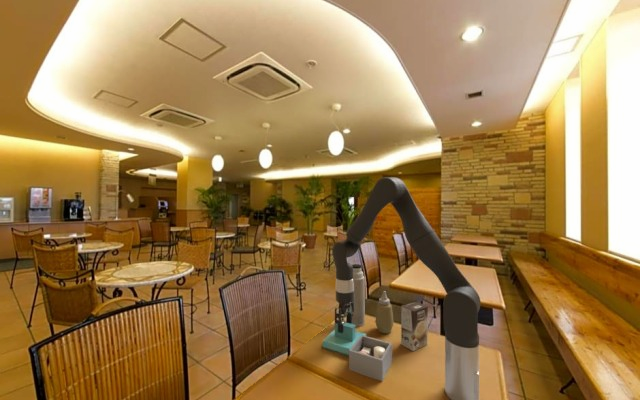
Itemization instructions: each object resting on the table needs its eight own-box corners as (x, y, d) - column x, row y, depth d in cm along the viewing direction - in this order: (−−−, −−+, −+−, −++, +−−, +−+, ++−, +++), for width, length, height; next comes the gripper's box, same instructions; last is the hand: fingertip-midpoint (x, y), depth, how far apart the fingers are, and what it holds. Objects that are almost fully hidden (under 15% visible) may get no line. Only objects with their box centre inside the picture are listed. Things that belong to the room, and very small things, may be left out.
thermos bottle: (352, 327, 125) (352, 268, 125) (345, 320, 133) (345, 263, 132) (367, 325, 128) (367, 266, 127) (360, 317, 135) (360, 262, 135)
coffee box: (413, 351, 106) (413, 311, 106) (400, 344, 111) (400, 305, 111) (428, 344, 111) (428, 306, 111) (415, 337, 116) (415, 300, 116)
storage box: (392, 361, 100) (392, 343, 100) (382, 381, 89) (382, 360, 89) (361, 352, 106) (361, 334, 106) (349, 370, 95) (349, 350, 95)
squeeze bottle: (394, 336, 118) (394, 295, 117) (375, 334, 119) (375, 294, 119) (393, 327, 126) (393, 288, 125) (375, 325, 127) (375, 287, 127)
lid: (366, 339, 114) (366, 321, 114) (354, 356, 102) (353, 335, 102) (337, 331, 121) (337, 314, 120) (322, 346, 109) (322, 327, 109)
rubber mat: (366, 340, 114) (366, 339, 114) (354, 358, 102) (354, 357, 102) (337, 332, 121) (337, 331, 121) (321, 348, 109) (321, 346, 109)
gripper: (345, 296, 103) (346, 338, 103) (359, 285, 115) (359, 322, 116) (328, 292, 107) (328, 333, 107) (343, 282, 119) (343, 318, 119)
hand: (345, 327), depth 111 cm, fingers open, 8 cm apart
